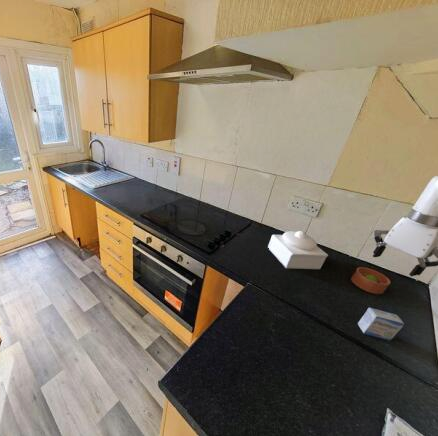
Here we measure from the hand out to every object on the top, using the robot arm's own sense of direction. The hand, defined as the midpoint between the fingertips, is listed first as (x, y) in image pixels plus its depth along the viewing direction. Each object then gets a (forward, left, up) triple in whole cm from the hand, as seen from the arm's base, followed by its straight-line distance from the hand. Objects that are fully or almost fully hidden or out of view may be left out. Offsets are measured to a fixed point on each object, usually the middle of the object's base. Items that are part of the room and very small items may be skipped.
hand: (393, 265), depth 73 cm
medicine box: (-4, +5, -25) cm, 26 cm away
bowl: (-10, -25, -25) cm, 37 cm away
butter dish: (+19, -31, -25) cm, 45 cm away
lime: (-10, -25, -22) cm, 35 cm away
